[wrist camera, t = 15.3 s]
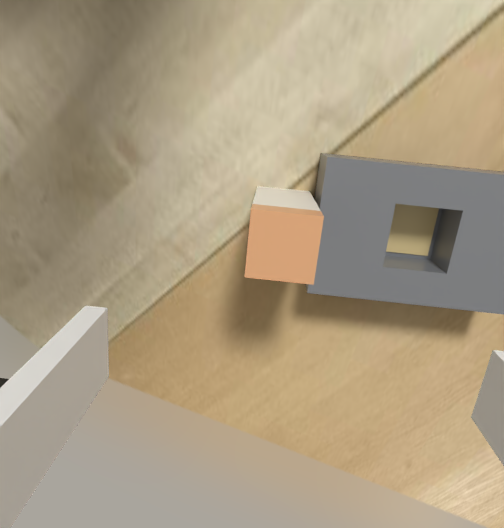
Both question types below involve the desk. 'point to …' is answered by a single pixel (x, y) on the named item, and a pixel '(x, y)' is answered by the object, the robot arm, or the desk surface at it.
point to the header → (410, 233)
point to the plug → (283, 236)
